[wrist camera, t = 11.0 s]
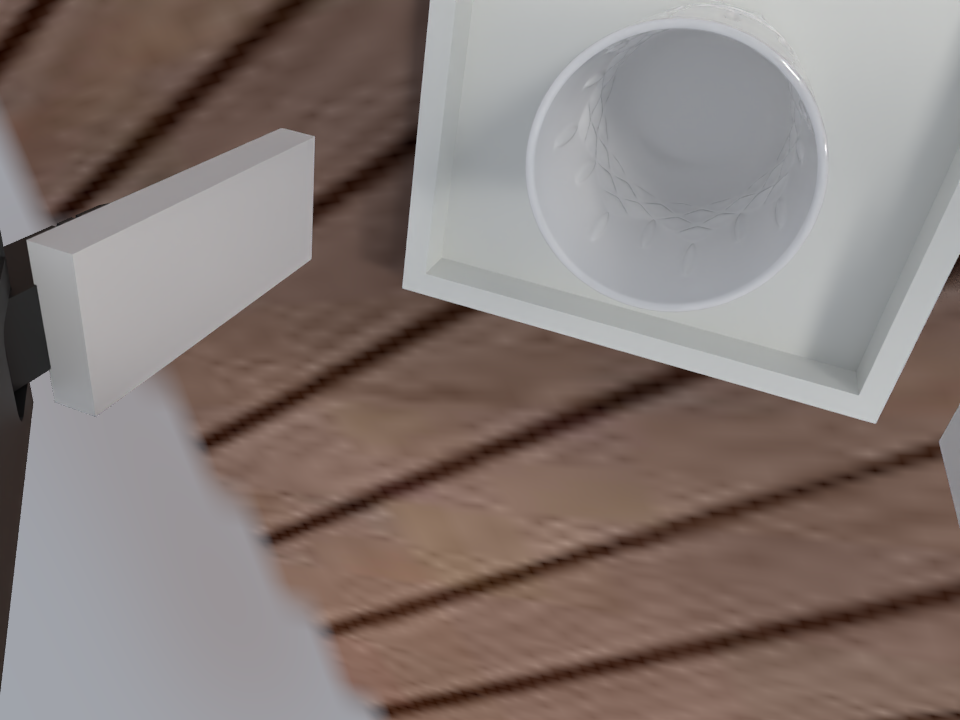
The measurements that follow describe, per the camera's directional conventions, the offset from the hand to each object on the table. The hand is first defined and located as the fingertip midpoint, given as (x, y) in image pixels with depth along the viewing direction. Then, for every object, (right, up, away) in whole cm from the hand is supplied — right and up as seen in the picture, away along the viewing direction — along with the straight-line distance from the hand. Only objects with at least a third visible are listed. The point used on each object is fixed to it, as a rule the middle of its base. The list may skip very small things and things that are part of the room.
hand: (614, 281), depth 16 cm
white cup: (+6, +8, +14) cm, 18 cm away
